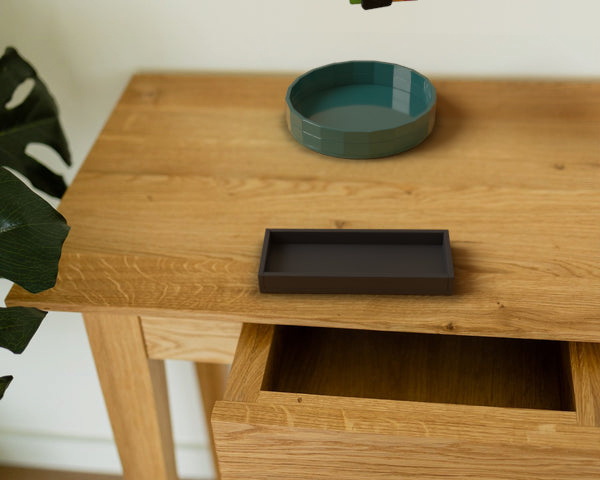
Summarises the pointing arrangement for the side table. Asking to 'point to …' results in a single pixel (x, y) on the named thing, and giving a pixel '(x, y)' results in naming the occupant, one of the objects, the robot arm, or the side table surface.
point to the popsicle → (358, 1)
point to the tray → (356, 261)
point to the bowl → (361, 109)
